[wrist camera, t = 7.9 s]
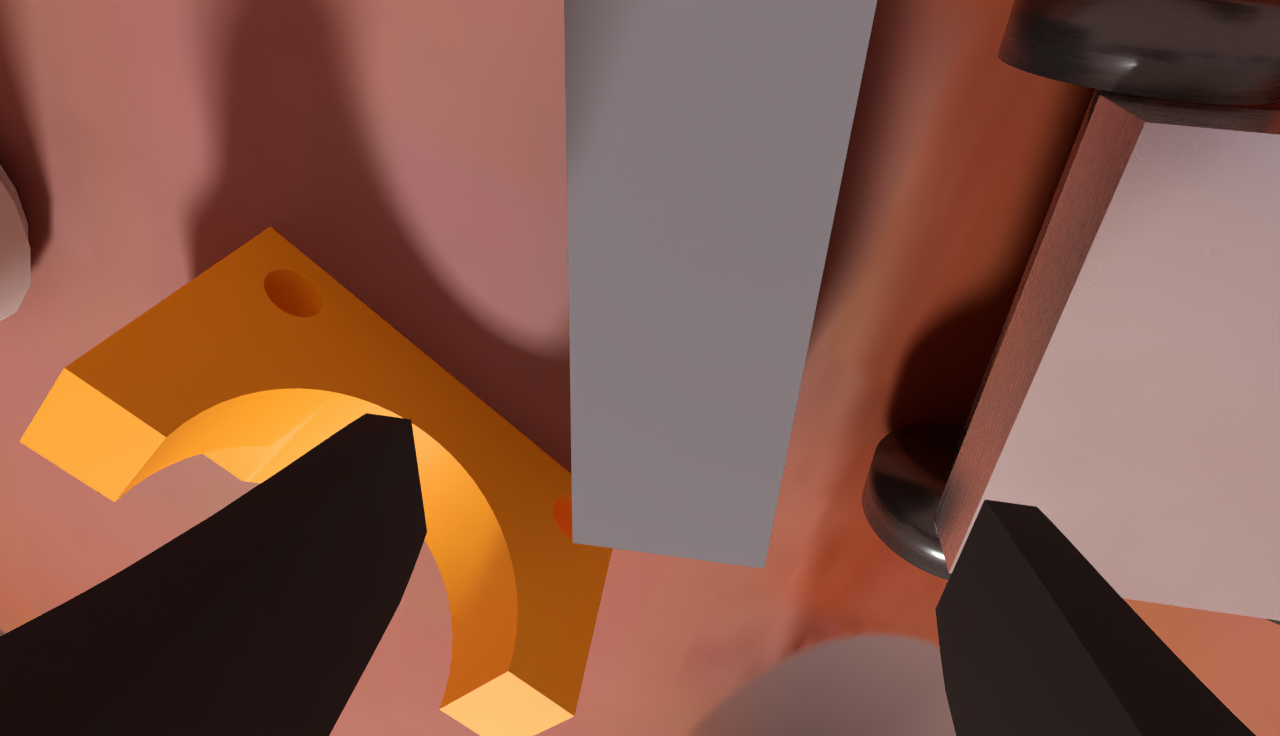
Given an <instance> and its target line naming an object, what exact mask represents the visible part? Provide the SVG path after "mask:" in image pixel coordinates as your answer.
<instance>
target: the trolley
mask: <svg viewBox="0 0 1280 736" xmlns="http://www.w3.org/2000/svg"><path fill="white" fill-rule="evenodd" d="M998 57H999V58H1000V59H1001V60H1002V61H1003V62H1005V63H1007V64H1009V65H1011V66H1013V67H1015V68H1018V69H1021V70H1023V71H1026V72H1029V73H1033V74H1036V75H1039V76H1043V77H1046V78H1050V79H1054V80H1058V81H1062V82H1066V83H1071V84H1075V85H1080V86H1085V87H1090V88H1095V91H1094V94H1093V96H1092V99H1091V102H1090V104H1089V107H1088V109H1087V112H1086V114H1085V117H1084V120H1083V122H1082V125H1081V127H1080V130H1079V132H1078V135H1077V138H1076V140H1075V143H1074V145H1073V148H1072V150H1071V153H1070V156H1069V158H1068V161H1067V163H1066V166H1065V168H1064V171H1063V174H1062V176H1061V179H1060V181H1059V184H1058V187H1057V189H1056V192H1055V194H1054V197H1053V199H1052V202H1051V205H1050V207H1049V210H1048V212H1047V215H1046V217H1045V220H1044V223H1043V225H1042V228H1041V230H1040V233H1039V235H1038V238H1037V241H1036V243H1035V246H1034V248H1033V251H1032V253H1031V256H1030V259H1029V261H1028V264H1027V266H1026V269H1025V271H1024V274H1023V277H1022V279H1021V282H1020V284H1019V287H1018V289H1017V292H1016V295H1015V297H1014V300H1013V302H1012V305H1011V307H1010V310H1009V313H1008V315H1007V318H1006V320H1005V323H1004V325H1003V328H1002V331H1001V333H1000V336H999V338H998V341H997V343H996V346H995V349H994V351H993V354H992V356H991V359H990V361H989V364H988V367H987V369H986V372H985V374H984V377H983V379H982V382H981V385H980V387H979V390H978V392H977V395H976V397H975V400H974V403H973V405H972V408H971V410H970V413H969V415H968V418H967V421H966V423H965V426H964V428H959V427H954V426H948V425H938V424H921V425H912V426H907V427H903V428H900V429H897V430H895V431H893V432H891V433H890V434H888V435H887V436H885V437H884V438H883V439H882V440H881V441H880V443H879V444H878V446H877V448H876V451H875V453H874V457H873V460H872V463H871V466H870V469H869V473H868V476H867V479H866V482H865V486H864V489H863V494H862V505H863V509H864V513H865V516H866V518H867V520H868V522H869V524H870V525H871V527H872V529H873V530H874V532H875V533H876V534H877V535H878V537H879V538H880V539H881V540H882V541H883V542H884V543H885V544H886V545H887V546H888V547H889V548H890V549H891V550H893V551H894V552H895V553H896V554H897V555H899V556H900V557H902V558H903V559H905V560H906V561H908V562H909V563H911V564H913V565H914V566H916V567H918V568H920V569H922V570H924V571H926V572H928V573H930V574H933V575H935V576H938V577H941V578H943V579H947V580H949V578H950V576H951V574H952V572H953V569H954V567H955V565H956V563H957V560H958V558H959V556H960V554H961V551H962V549H963V547H964V545H965V542H966V540H967V538H968V536H969V533H970V531H971V529H972V527H973V524H974V522H975V520H976V518H977V515H978V513H979V511H980V509H981V506H982V504H983V502H984V500H992V501H1000V502H1007V503H1014V504H1021V505H1028V506H1035V507H1038V508H1039V509H1040V510H1041V511H1042V512H1043V513H1044V514H1045V515H1046V516H1047V517H1048V518H1049V519H1050V520H1051V522H1052V523H1053V524H1054V525H1055V526H1056V527H1057V528H1058V529H1059V530H1060V531H1061V532H1062V533H1063V534H1064V535H1065V536H1066V537H1067V539H1068V540H1069V541H1070V542H1071V543H1072V544H1073V545H1074V546H1075V547H1076V548H1077V549H1078V551H1079V552H1080V553H1081V554H1082V555H1083V556H1084V557H1085V558H1086V559H1087V560H1088V561H1089V563H1090V564H1091V565H1092V566H1093V567H1094V568H1095V569H1096V570H1097V571H1098V572H1099V573H1100V575H1101V576H1102V577H1103V578H1104V579H1105V580H1106V581H1107V582H1108V583H1109V584H1110V585H1111V586H1112V588H1113V589H1114V590H1115V591H1116V592H1117V593H1118V594H1119V595H1120V596H1121V597H1122V598H1125V599H1132V600H1139V601H1146V602H1153V603H1160V604H1167V605H1174V606H1181V607H1188V608H1195V609H1202V610H1209V611H1216V612H1222V613H1229V614H1236V615H1243V616H1250V617H1257V618H1264V619H1267V620H1269V621H1272V622H1274V623H1276V624H1279V625H1280V111H1276V110H1265V109H1254V108H1243V107H1232V106H1220V105H1209V104H1223V105H1261V104H1270V103H1275V102H1279V101H1280V0H1015V1H1014V4H1013V8H1012V11H1011V14H1010V17H1009V21H1008V24H1007V27H1006V30H1005V33H1004V37H1003V40H1002V43H1001V46H1000V50H999V53H998ZM1151 98H1157V99H1165V100H1174V101H1164V100H1153V99H1151ZM1176 101H1183V102H1176ZM1187 102H1193V103H1187ZM1198 103H1206V104H1198Z"/></svg>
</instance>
